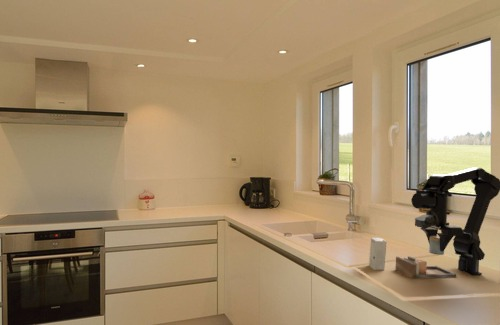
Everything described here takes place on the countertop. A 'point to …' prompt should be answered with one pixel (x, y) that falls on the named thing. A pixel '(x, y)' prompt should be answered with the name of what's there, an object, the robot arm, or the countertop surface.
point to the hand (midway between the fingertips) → (436, 249)
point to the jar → (422, 266)
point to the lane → (431, 272)
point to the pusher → (414, 263)
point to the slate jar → (435, 245)
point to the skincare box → (377, 254)
